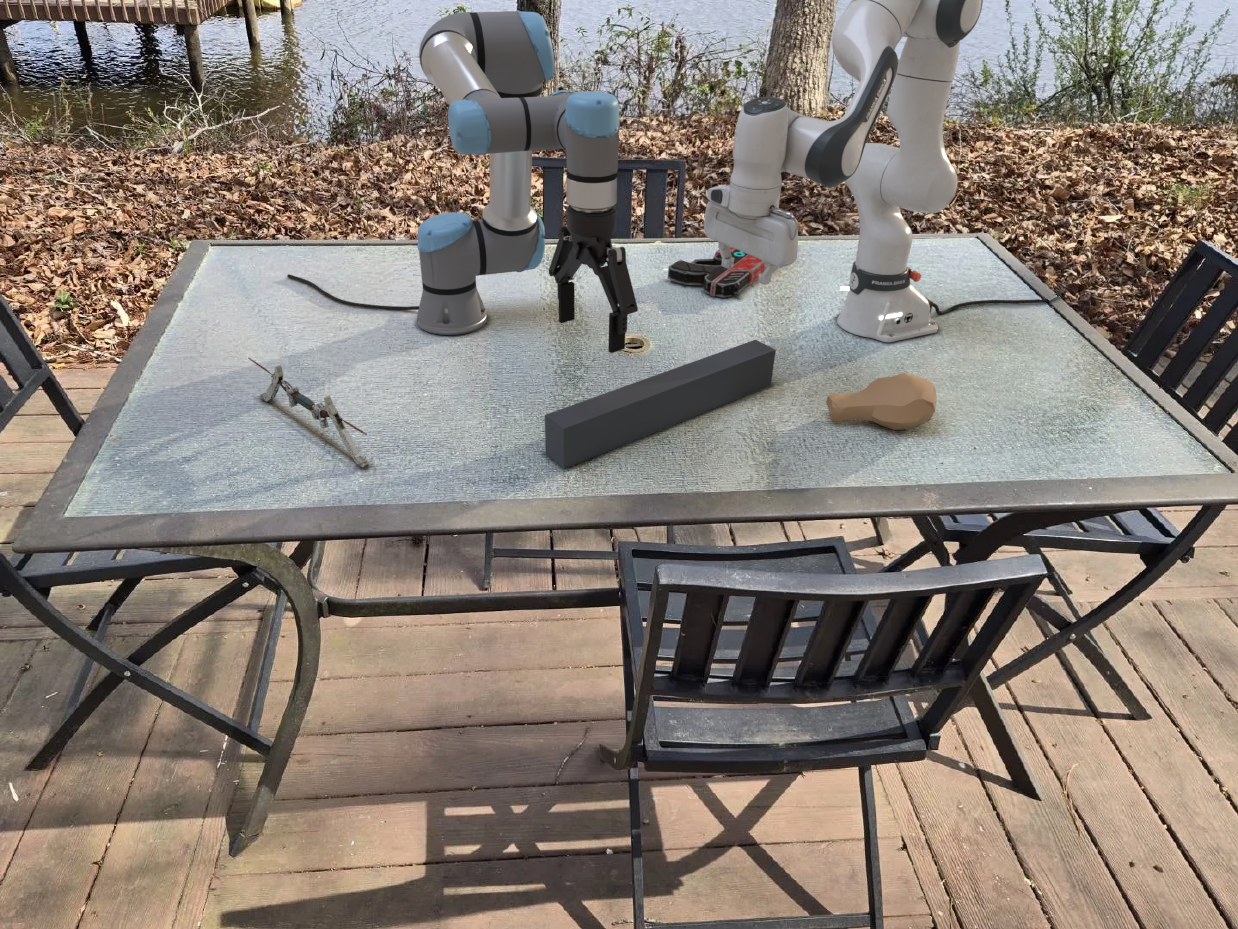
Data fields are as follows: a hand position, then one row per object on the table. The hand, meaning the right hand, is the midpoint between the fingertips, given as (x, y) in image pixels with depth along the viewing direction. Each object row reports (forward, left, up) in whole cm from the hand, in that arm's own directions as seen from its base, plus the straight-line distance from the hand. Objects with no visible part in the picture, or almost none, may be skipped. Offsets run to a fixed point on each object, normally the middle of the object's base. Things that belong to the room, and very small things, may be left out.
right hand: (745, 274), depth 160 cm
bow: (+80, -2, -24) cm, 83 cm away
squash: (-23, +17, -24) cm, 37 cm away
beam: (+16, +7, -24) cm, 30 cm away
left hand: (+32, +14, -2) cm, 35 cm away
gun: (-20, -59, -24) cm, 67 cm away
